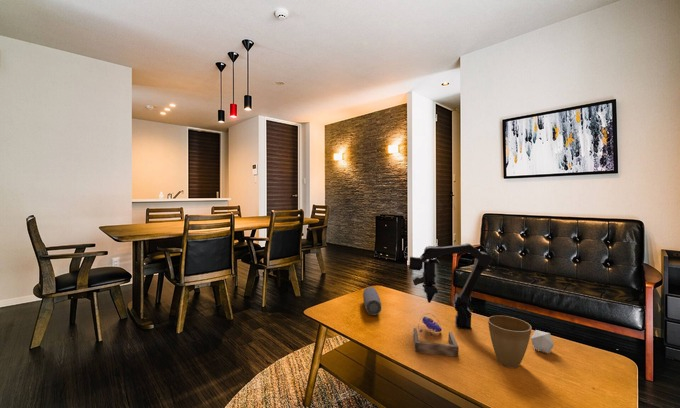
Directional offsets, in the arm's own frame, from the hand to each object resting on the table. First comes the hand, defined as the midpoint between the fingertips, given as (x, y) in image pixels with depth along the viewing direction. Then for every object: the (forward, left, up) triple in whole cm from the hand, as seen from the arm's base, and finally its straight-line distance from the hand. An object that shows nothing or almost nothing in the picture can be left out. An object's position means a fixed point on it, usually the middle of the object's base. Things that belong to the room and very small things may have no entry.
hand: (428, 301), depth 151 cm
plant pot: (-27, +31, -11) cm, 43 cm away
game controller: (0, +12, -11) cm, 16 cm away
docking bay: (0, +24, -11) cm, 26 cm away
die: (-45, +18, -11) cm, 50 cm away
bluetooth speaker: (+30, -11, -11) cm, 34 cm away
